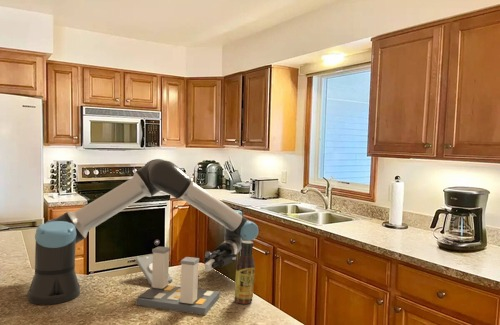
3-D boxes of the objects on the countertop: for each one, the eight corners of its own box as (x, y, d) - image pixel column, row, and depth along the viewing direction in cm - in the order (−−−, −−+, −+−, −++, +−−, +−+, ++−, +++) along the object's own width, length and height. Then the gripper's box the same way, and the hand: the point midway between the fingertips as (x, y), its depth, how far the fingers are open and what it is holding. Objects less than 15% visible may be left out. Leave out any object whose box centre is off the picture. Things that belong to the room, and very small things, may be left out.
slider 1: (150, 287, 126) (152, 249, 125) (157, 283, 130) (158, 246, 130) (162, 289, 125) (164, 250, 124) (168, 284, 129) (170, 247, 129)
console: (136, 304, 117) (136, 297, 117) (157, 289, 131) (157, 282, 131) (205, 314, 112) (205, 306, 112) (219, 297, 126) (219, 290, 126)
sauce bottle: (238, 306, 119) (241, 244, 119) (230, 299, 125) (233, 240, 124) (256, 303, 122) (259, 243, 122) (248, 296, 128) (250, 239, 127)
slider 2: (179, 302, 114) (180, 260, 114) (184, 297, 119) (186, 256, 118) (192, 304, 113) (194, 262, 113) (197, 298, 118) (199, 258, 117)
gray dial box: (153, 283, 132) (136, 255, 141) (148, 295, 135) (132, 267, 143) (173, 277, 139) (155, 252, 147) (168, 289, 141) (151, 263, 149)
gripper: (240, 262, 153) (223, 280, 130) (210, 258, 156) (188, 276, 133) (241, 244, 152) (224, 259, 129) (211, 241, 155) (189, 255, 132)
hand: (206, 268), depth 131 cm, fingers closed
